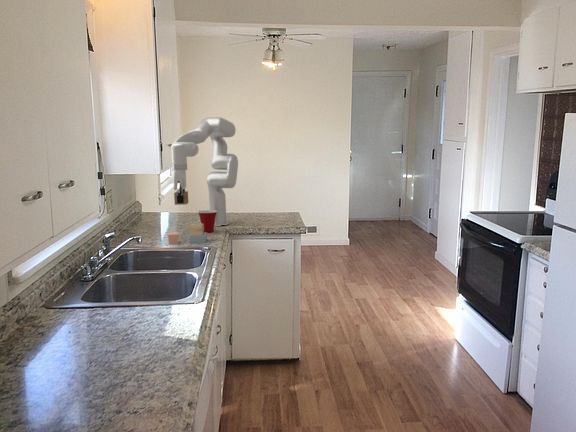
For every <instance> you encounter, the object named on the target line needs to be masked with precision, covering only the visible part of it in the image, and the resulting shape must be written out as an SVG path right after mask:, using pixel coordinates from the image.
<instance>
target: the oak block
mask: <svg viewBox="0 0 576 432" xmlns="http://www.w3.org/2000/svg"><path fill="white" fill-rule="evenodd" d="M203 234H204V224H201V223H191V224H190V225H189V236H202V235H203Z"/></svg>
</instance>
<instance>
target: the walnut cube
mask: <svg viewBox="0 0 576 432" xmlns="http://www.w3.org/2000/svg"><path fill="white" fill-rule="evenodd" d="M173 194H174V195H173V197H174V205H177V206H179V205H188V204H189V191H188V190H185V191H183V200H184V203H177V191H175V192H174V193H173Z"/></svg>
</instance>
